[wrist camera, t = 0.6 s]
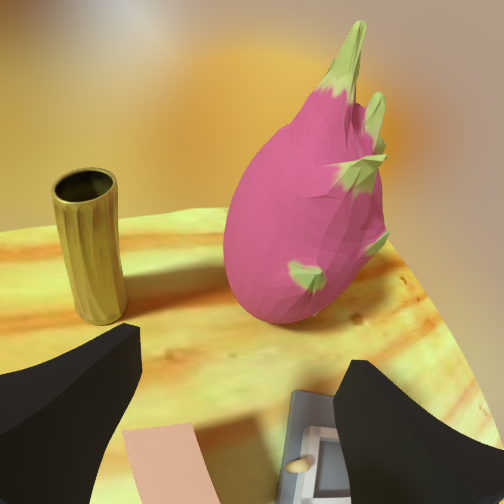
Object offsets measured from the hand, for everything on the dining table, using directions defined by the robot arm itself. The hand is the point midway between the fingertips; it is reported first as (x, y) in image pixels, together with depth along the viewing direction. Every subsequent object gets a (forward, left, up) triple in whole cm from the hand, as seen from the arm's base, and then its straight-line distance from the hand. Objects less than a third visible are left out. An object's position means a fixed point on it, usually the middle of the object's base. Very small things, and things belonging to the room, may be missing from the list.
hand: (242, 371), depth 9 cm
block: (-5, +1, -17) cm, 17 cm away
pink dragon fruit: (+18, -3, -17) cm, 25 cm away
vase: (+10, +14, -17) cm, 24 cm away
